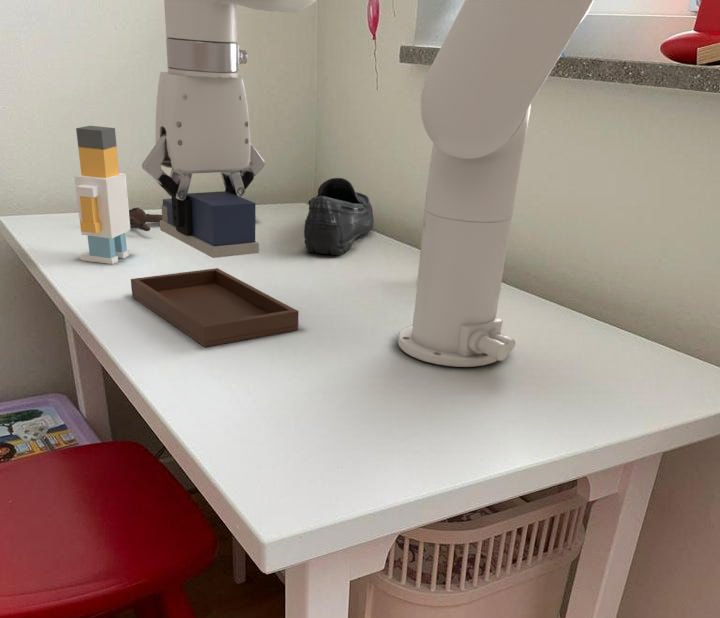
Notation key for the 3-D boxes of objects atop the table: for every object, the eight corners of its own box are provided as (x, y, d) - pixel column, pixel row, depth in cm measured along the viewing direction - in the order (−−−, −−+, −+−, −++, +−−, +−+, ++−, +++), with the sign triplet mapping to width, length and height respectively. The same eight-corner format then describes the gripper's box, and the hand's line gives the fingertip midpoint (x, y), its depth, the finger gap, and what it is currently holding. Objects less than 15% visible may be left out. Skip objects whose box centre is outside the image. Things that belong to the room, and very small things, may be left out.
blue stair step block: (212, 258, 87) (211, 206, 84) (160, 230, 96) (157, 182, 93) (259, 253, 90) (259, 203, 87) (203, 226, 99) (202, 180, 97)
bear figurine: (203, 215, 131) (120, 212, 123) (202, 241, 133) (120, 240, 125) (160, 195, 144) (82, 191, 135) (160, 219, 146) (82, 216, 137)
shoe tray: (298, 330, 94) (298, 310, 93) (204, 347, 87) (204, 327, 86) (218, 285, 108) (217, 267, 107) (132, 297, 101) (130, 278, 100)
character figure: (83, 267, 111) (67, 132, 102) (76, 249, 119) (61, 122, 110) (138, 265, 114) (127, 133, 105) (128, 247, 122) (117, 123, 113)
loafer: (377, 223, 148) (381, 167, 143) (362, 261, 123) (366, 195, 118) (324, 219, 149) (326, 162, 144) (298, 256, 124) (299, 189, 119)
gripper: (254, 60, 91) (254, 219, 100) (112, 54, 81) (126, 229, 90) (288, 66, 86) (285, 232, 95) (141, 59, 76) (153, 245, 85)
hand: (207, 229), depth 92 cm, fingers closed on blue stair step block, 5 cm apart
